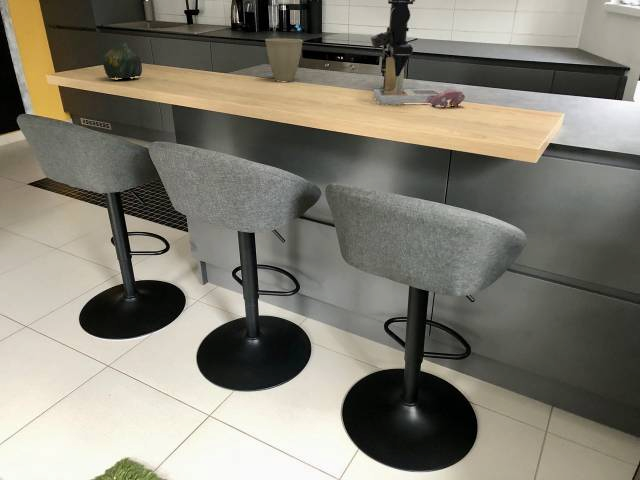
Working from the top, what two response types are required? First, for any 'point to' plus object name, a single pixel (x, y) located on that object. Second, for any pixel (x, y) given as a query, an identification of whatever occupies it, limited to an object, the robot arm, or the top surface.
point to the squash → (122, 62)
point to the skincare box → (393, 78)
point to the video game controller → (448, 98)
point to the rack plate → (406, 96)
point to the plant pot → (284, 57)
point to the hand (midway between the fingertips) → (394, 74)
